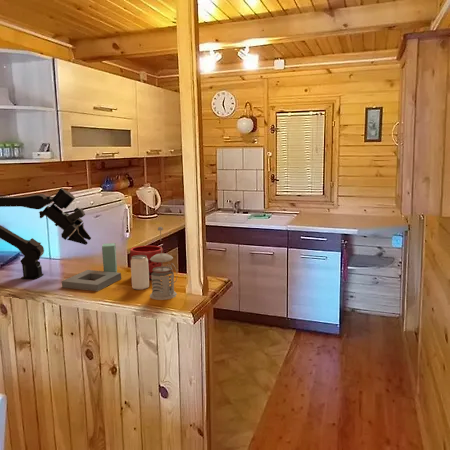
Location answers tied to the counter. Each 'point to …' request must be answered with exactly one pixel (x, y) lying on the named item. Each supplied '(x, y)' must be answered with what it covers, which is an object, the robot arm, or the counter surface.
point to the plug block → (109, 257)
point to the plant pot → (149, 252)
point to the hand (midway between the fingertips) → (88, 241)
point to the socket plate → (85, 283)
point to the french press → (162, 277)
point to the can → (139, 272)
